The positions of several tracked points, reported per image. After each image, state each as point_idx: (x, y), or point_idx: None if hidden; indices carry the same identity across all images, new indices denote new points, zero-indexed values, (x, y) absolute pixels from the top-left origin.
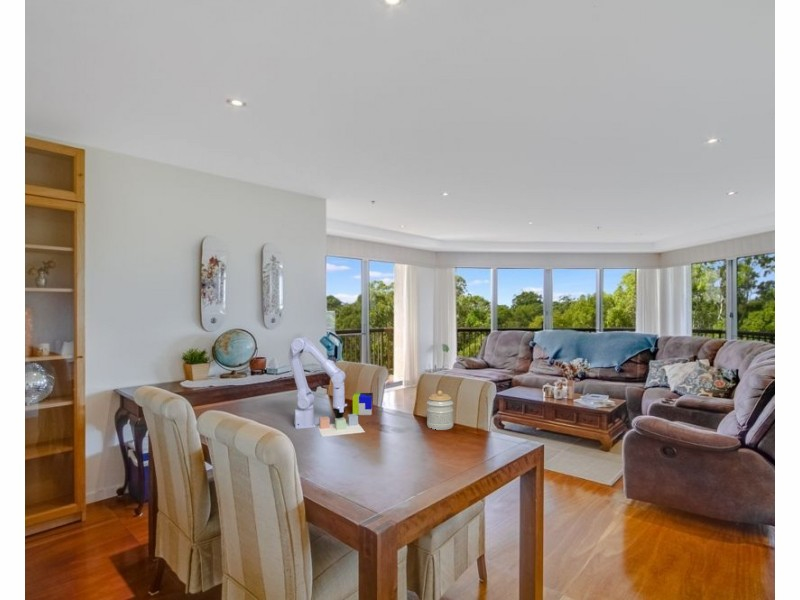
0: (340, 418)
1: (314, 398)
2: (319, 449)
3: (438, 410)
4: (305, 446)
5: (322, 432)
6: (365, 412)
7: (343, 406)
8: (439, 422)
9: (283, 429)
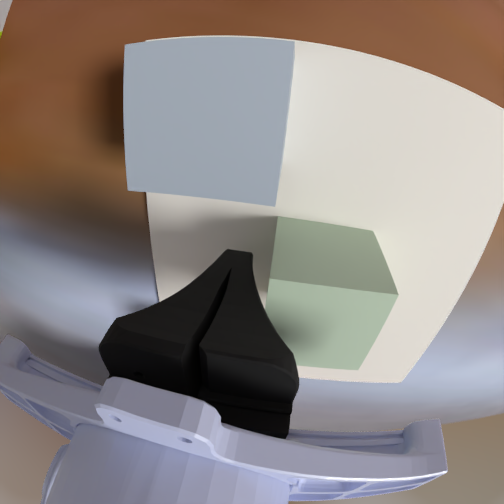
0: (293, 324)
1: (54, 474)
2: (495, 389)
3: None
4: (436, 418)
5: (332, 373)
6: None
7: (294, 467)
8: None
9: None
